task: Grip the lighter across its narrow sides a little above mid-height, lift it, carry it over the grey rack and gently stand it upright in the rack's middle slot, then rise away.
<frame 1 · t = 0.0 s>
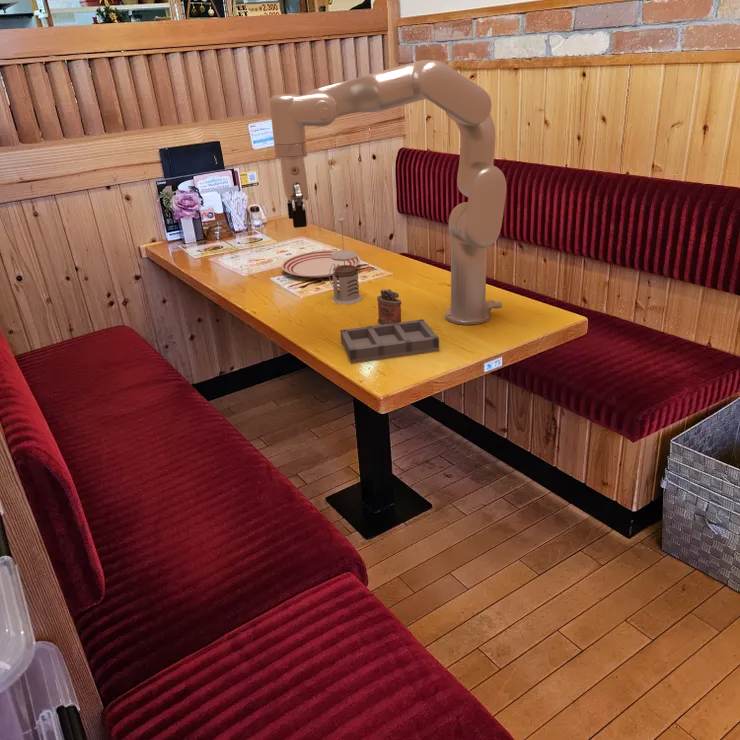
hand: (297, 222, 166), 31 cm above the table, tool pointing down, fingers open, 9 cm apart
dinner plate: (321, 271, 234), on the table
rack: (388, 346, 172), on the table
lighter: (389, 325, 186), on the table
french press: (345, 300, 205), on the table
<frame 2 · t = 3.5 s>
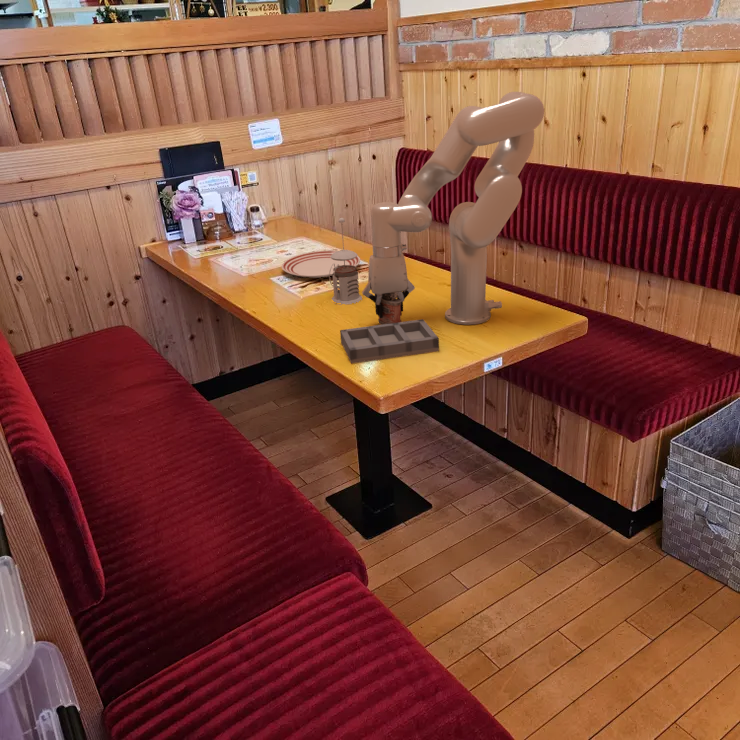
hand: (389, 314, 184), 3 cm above the table, tool pointing down, fingers closed on lighter, 4 cm apart
lighter: (390, 325, 186), on the table, touching gripper
everything else where it was.
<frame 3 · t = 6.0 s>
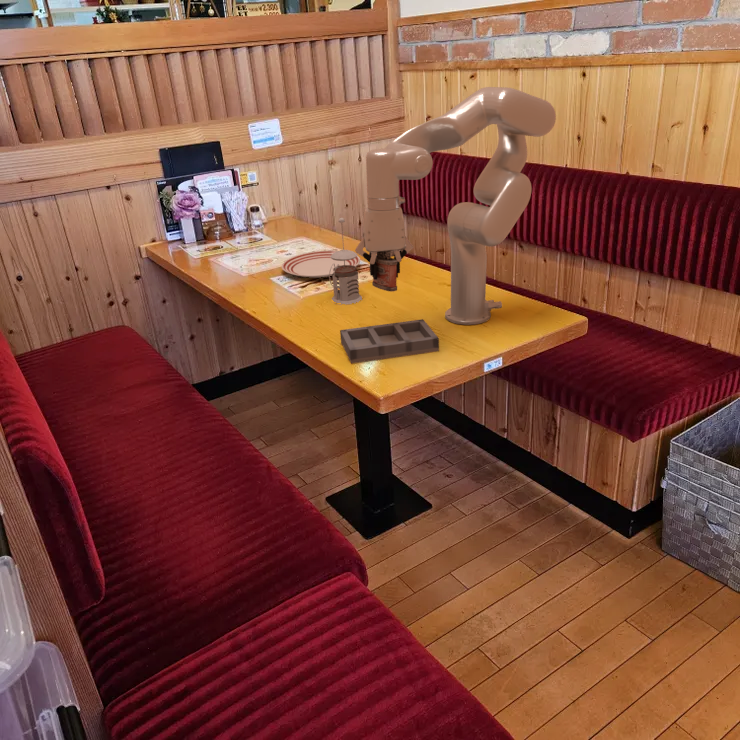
hand: (385, 276, 168), 18 cm above the table, tool pointing down, fingers closed on lighter, 4 cm apart
lighter: (384, 288, 169), point 15 cm above the table, touching gripper
everything else where it was.
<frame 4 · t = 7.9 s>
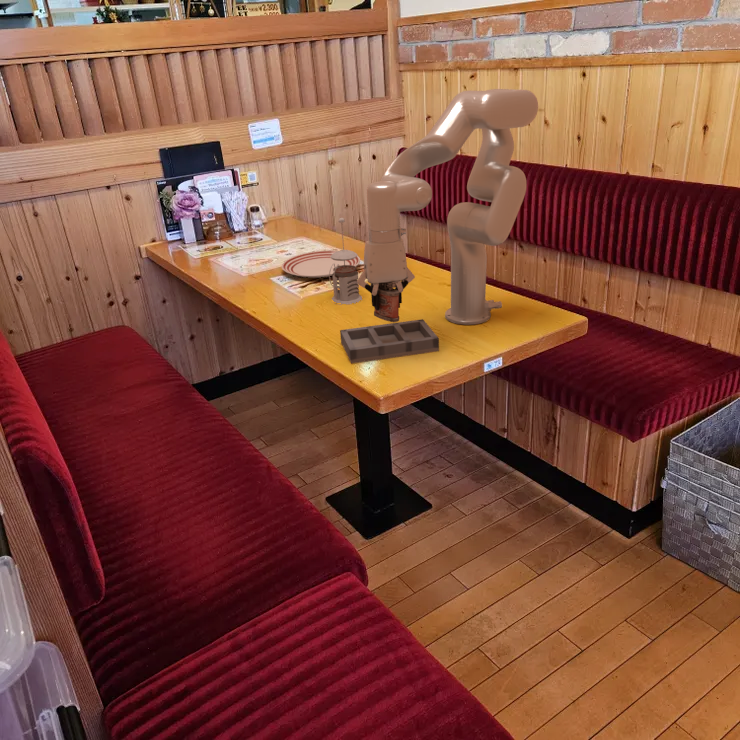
hand: (386, 306, 167), 11 cm above the table, tool pointing down, fingers closed on lighter, 4 cm apart
lighter: (386, 318, 168), point 8 cm above the table, touching gripper
everything else where it was.
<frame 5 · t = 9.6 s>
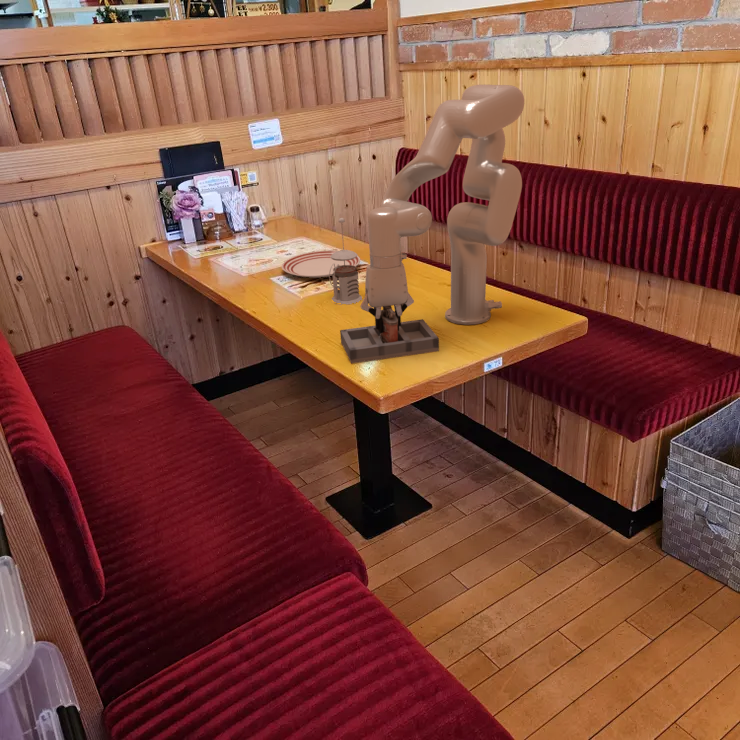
hand: (388, 329, 170), 5 cm above the table, tool pointing down, fingers closed on lighter, 3 cm apart
lighter: (389, 342, 171), point 1 cm above the table, touching gripper, rack
everything else where it was.
when the fingers open (5 cm above the table, at t = 9.6 s): lighter stays where it is, resting on rack.
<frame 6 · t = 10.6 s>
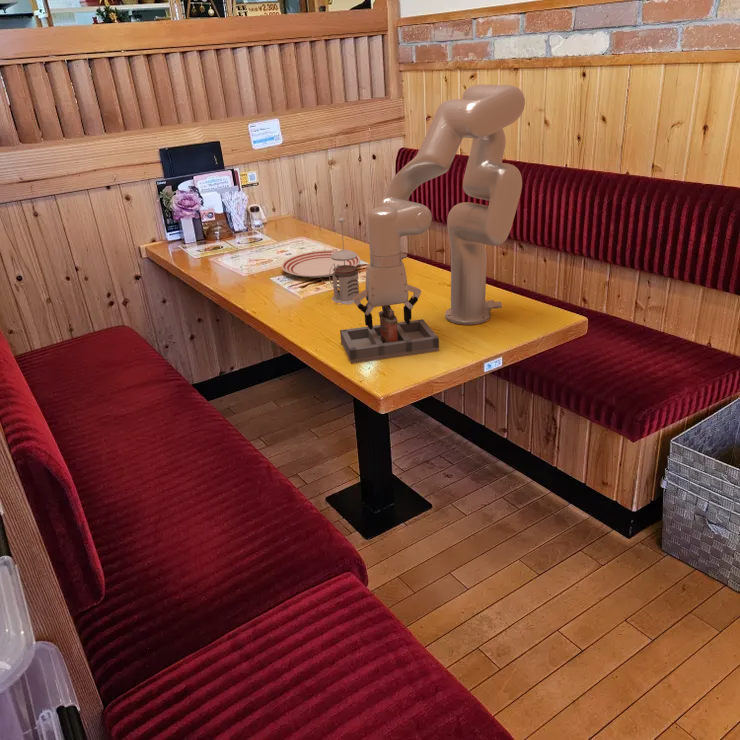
hand: (388, 325, 170), 6 cm above the table, tool pointing down, fingers open, 9 cm apart
lighter: (389, 343, 172), point 1 cm above the table, touching rack
everything else where it was.
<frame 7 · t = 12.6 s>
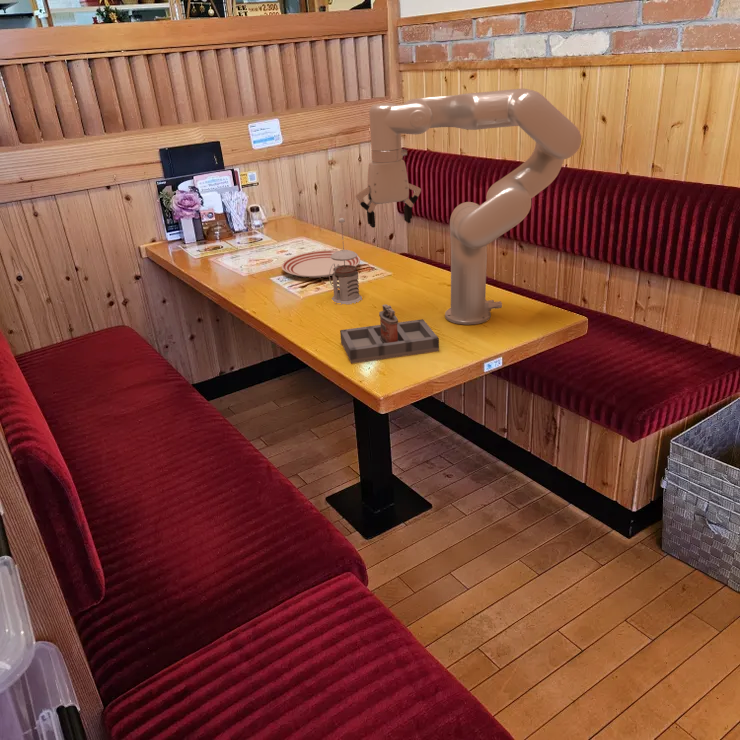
hand: (390, 224, 176), 27 cm above the table, tool pointing down, fingers open, 9 cm apart
nothing on the table moved.
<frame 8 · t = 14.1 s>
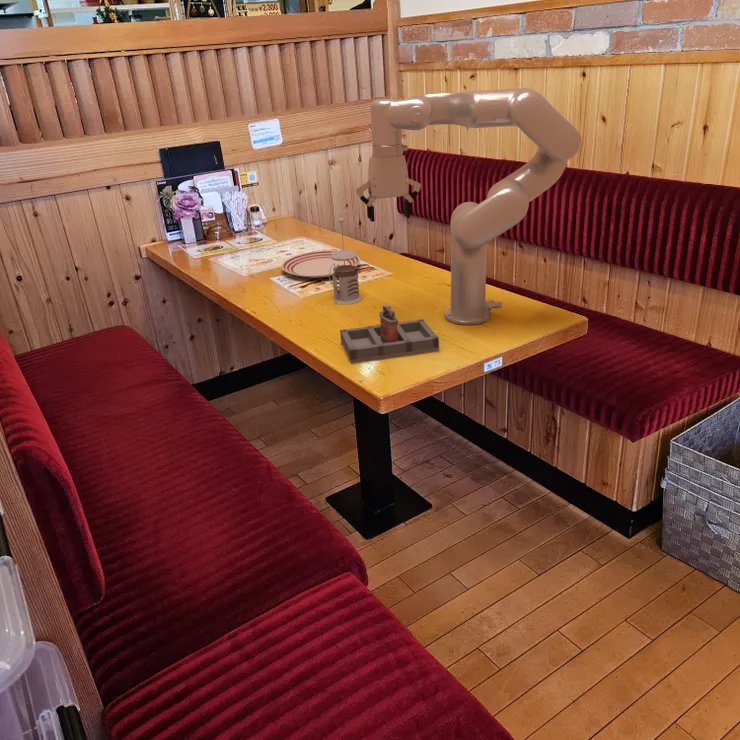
hand: (389, 218, 177), 28 cm above the table, tool pointing down, fingers open, 9 cm apart
nothing on the table moved.
at the end: lighter 0.2 cm off-centre on the rack, point 0.8 cm above the rack's base; lighter tilted 0°; the gripper is holding nothing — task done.
